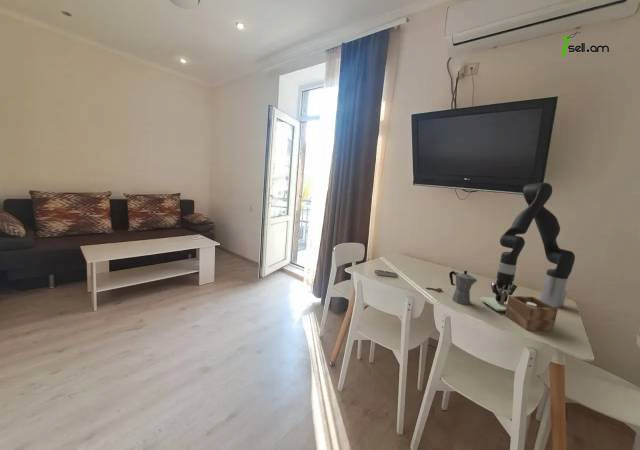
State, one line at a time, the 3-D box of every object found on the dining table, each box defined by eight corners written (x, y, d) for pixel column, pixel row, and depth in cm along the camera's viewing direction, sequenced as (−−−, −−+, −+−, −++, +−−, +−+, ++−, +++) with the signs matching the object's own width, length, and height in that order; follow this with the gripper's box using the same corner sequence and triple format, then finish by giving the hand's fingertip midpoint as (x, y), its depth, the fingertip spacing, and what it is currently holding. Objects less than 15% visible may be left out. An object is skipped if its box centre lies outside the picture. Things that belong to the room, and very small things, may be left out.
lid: (502, 299, 148) (504, 288, 147) (522, 311, 134) (525, 299, 133) (479, 298, 147) (481, 287, 146) (497, 310, 133) (499, 298, 132)
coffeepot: (477, 304, 143) (482, 273, 140) (468, 307, 138) (473, 276, 135) (450, 293, 155) (454, 265, 153) (441, 296, 150) (446, 267, 147)
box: (528, 316, 132) (533, 296, 130) (552, 331, 119) (557, 309, 117) (504, 315, 131) (508, 295, 129) (526, 330, 118) (531, 308, 117)
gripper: (513, 269, 142) (507, 299, 144) (489, 268, 141) (483, 298, 144) (524, 274, 134) (518, 305, 137) (499, 273, 133) (493, 304, 136)
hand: (500, 301), depth 140 cm, fingers closed on lid, 3 cm apart
